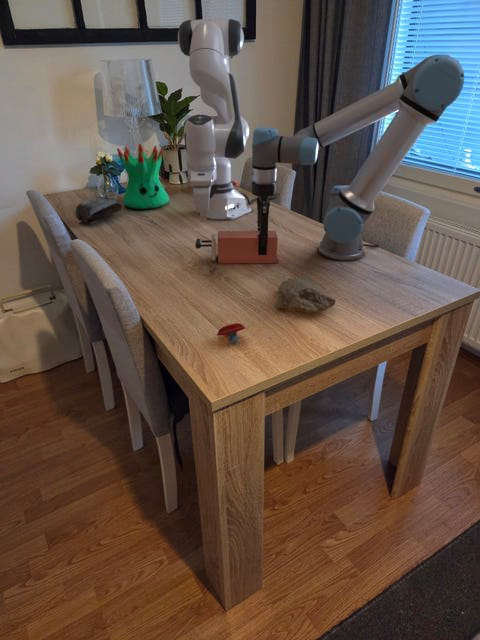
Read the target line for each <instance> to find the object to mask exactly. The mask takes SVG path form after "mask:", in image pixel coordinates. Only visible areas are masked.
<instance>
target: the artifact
mask: <svg viewBox="0 0 480 640" xmlns="http://www.w3.org/2000/svg"><path fill="white" fill-rule="evenodd" d="M335 304H336V299H335V298H333V297H331V295H329V294H327V293H326V292H324V291H323V290H321V288H319V287H318V286H317V285H316V284H315V282H314V280H312V278H311V277H310V276H309V275H301V276H298V277H294V278H288V280H283V281H282V282H281V283H280V284H279V286H278V287H277V297H276V301H275V306H276V307H277V308H278V310H280V311H281V310H284V309H286V308H287V309H289V311H298V312H304V313H311V314H313V313H314V314H315V313H317V312H320V311H327V310H328V309H330V308H333V307H334V306H335Z"/></svg>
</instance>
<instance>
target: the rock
mask: <svg viewBox="0 0 480 640" xmlns="http://www.w3.org/2000/svg"><path fill="white" fill-rule="evenodd" d="M121 210H122V204H121V203H118V202H117V199H116V198H108V196H97V197H94V198H90V199H87V200H84V201H82V202H80V203H79V204H78V205H77V206H76V208H75V218H76V220H78V221H80V222H83V221H84V223H86V224H87V225H93V224H94V223H97V222H99V221H101V220H105V219H106V218H108V217H109V216H112V215H114V214H116V213H118V212H119V211H121Z"/></svg>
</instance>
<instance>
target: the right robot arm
mask: <svg viewBox="0 0 480 640" xmlns="http://www.w3.org/2000/svg"><path fill="white" fill-rule="evenodd" d="M464 83H465V71H464V69H463V66H462V64H461V63H460V61H459V60H457V59H456V58H455V57H454V56H450V55H449V54H433V55H430V56H428V57H426V58H423V59H422V61H420V62H418V64H416V65H414V66H413V67H411V68H409V69H408V70H407V71H405V72H403V73H401V74H400V75H398V76H396V80H395V81H393V82H392V83H390V84H388V85H386V86H384V87H383V88H381V89H379V90H377V91H375V92H372V93H371V94H369V95H367V96H365V97H363V98H361V99H359V100H357V101H355V102H353V103H352V104H350V105H348V106H345V107H343V108H342V109H340V110H338V111H336V112H334V113H332V114H330V115H328V116H327V117H325V118H322V119H321V120H319V121H316V122H315V123H313V124H310V125H309V126H307V127H305V128H302V129H299V130H298V131H297V132H296V133H295V134H294V136H285V135H279V130H278V129H277V128H276V127H271V126H261V127H257V128H255V129H254V130H253V133H252V144H251V151H252V153H251V159H252V161H251V163H252V164H251V170H250V171H249V174H251V180H252V181H251V194H252V195H253V196H255V197H257V198H258V199H257V200H256V211H257V217H256V218H257V221H256V224H257V225H256V226H257V228H256V229H257V230H256V231H260V234H259V235H257V237H259V249H258V255H267V237H268V231H269V215H270V206H271V201H270V199H268V198H270V197H274V195H276V187H277V183H276V181H277V173H278V171H277V169H278V167H277V165H278V164H289V165H290V164H292V165H302V166H306V165H307V166H308V165H309V166H311V165H315V164H316V163H317V159H318V155H319V150H320V149H322V148H324V147H326V146H328V145H330V144H332V143H335V142H337V141H338V140H341V139H342V138H345V137H347V136H349V135H350V134H353V133H354V132H357V131H359V130H361V129H363V128H366V127H367V126H369V125H372V124H374V123H376V122H378V121H380V120H382V119H384V118H386V117H389V116H391V115H393V114H395V115H394V116H393V118H392V120H391V121H390V122H389V124H388V125H387V127H386V129H385V130H384V132H383V133H382V135H381V136H380V138H379V140H378V141H377V142H376V145H374V147H373V149H372V151H371V152H370V153H369V155H368V156H367V158H366V159H365V162H364V163H363V164H362V166H361V168H360V169H359V170H358V172H357V173H356V175H355V177H354V178H353V180H352V181H351V183H350V185H334V186H333V187H332V188H331V189H330V193H329V203H328V207H327V210H326V213H325V214H324V216H323V221H322V223H323V230H324V234H323V237H322V239H321V240H320V241H319V247H318V248H319V249H318V252H319V254H320V255H322V256H323V257H325V258H327V259H330V260H335V261H342V262H343V261H344V262H347V261H348V262H349V261H355V260H358V259H360V258H362V257H363V255H364V249H365V247H368V248H377V247H380V245H379V244H378V243H377V244H370V243H369V244H368V243H363V237H362V232H363V229H364V225H365V224H366V222H367V220H368V219H369V218H370V217H371V215H372V213H373V212H374V211H375V204H374V203H375V201H376V199H377V197H378V196H379V195H380V193H381V192H382V190H383V189H384V187H385V186H386V185H387V183H388V182H389V180H390V179H391V178H392V176H393V175H394V173H395V172H396V171H397V169H398V168H399V166H400V164H401V163H402V162H403V161H404V159H405V158H406V156H407V155H408V154H409V152H410V150H411V149H412V148H413V147H414V145H415V143H416V142H417V140H418V139H419V137H420V136H421V135H422V133H423V132H424V131H425V129H426V127H427V126H429V125H433V124H436V123H437V122H438V120H439V119H440V117H441V116H442V115H443V114H444V113H445V111H446V109H447V108H448V107H450V105H452V104H454V102H455V101H456V100H458V98H459V96H460V94H461V93H462V90H463V88H464ZM277 163H278V164H277Z"/></svg>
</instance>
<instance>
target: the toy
mask: <svg viewBox="0 0 480 640" xmlns="http://www.w3.org/2000/svg"><path fill="white" fill-rule="evenodd" d="M116 149H117V150H116V151H117V153H118V157H119V159H120V162H121V164H122V165H121V166H122V167H123V169H124V171H126V173H127V178H128V180H127V184H126V190H125V192H124V195H123V198H122V203H123V204H124V205H125V206H126V207H128V208H130V209H136V210H138V209H139V210H146V209H156V208H158V207H162V206H164V205H166V204H167V203H168V202H169V201H170V197H169V195H168V193H167V192H166V190H165V189H164V186H163V184H162V182H161V181H160V176H159V175H160V174H159V172H160V169H161V165H162V161H163V147H161V148H160V150H159V153H158V147H157V146H156V145H154V147H153V148H152V151H151V153H150V156H149V157H147V156H146V154H145V151H144V148H143V145H142V143H141V142H140V143H139V144H138V150H137V156H136V157H134V156H133V155H132V153H131V151H130V150H129V148H128V147H127V146H126V145H124V151H123V153H122V150H121V149H120V148H116Z"/></svg>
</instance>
